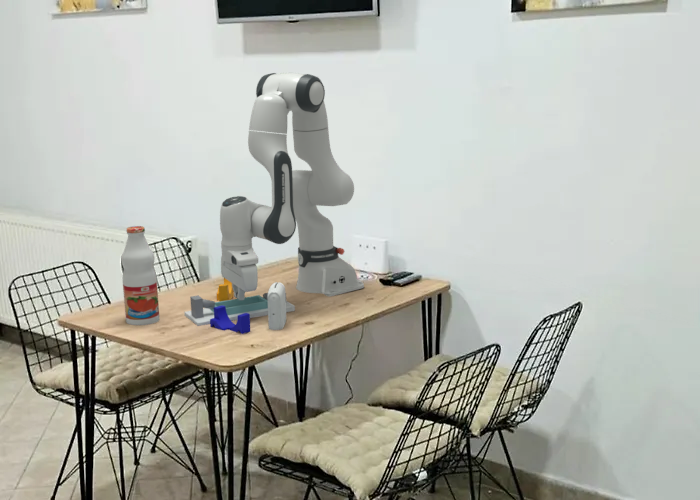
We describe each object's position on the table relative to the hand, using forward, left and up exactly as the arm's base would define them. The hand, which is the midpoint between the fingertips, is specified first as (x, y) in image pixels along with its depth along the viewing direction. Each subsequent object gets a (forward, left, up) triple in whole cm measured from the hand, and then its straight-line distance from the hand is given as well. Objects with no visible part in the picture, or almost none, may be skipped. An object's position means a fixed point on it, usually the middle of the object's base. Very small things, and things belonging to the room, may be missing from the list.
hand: (239, 298), depth 247 cm
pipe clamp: (-1, -15, -5) cm, 16 cm away
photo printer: (-5, +16, -5) cm, 17 cm away
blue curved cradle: (+8, +13, -5) cm, 16 cm away
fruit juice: (+27, -7, -5) cm, 28 cm away
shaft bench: (0, 0, -5) cm, 5 cm away
